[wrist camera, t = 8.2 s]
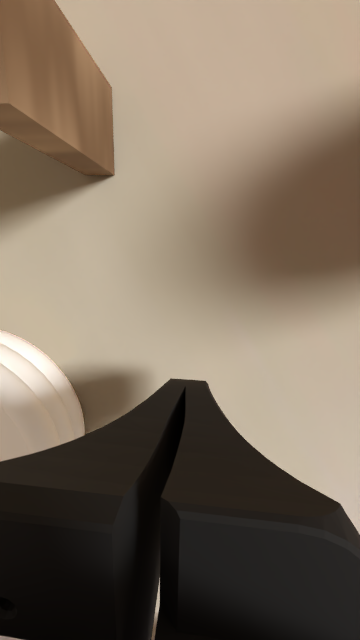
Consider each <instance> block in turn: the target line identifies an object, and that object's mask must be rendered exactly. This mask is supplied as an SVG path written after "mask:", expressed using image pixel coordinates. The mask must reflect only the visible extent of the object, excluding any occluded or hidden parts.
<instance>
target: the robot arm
mask: <svg viewBox="0 0 360 640" xmlns="http://www.w3.org/2000/svg"><path fill="white" fill-rule="evenodd" d="M159 578H160V607H159V614H158V620H157V627H156V634H155V640H360V535H359V533H358V531H357V530H356V528H355V527H354V525H353V523H352V522H351V520H350V519H349V517H348V516H347V514H346V513H345V511H344V509H343V508H342V506H341V504H340V503H338V502H336V501H334V500H333V499H331V498H329V497H327V496H325V495H324V494H322V493H320V492H318V491H316V490H315V489H313V488H311V487H309V486H307V485H306V484H304V483H302V482H300V481H299V480H297V479H296V478H294V477H293V476H291V475H290V474H288V473H287V472H285V471H284V470H282V469H281V468H279V467H278V466H276V465H275V464H274V463H272V462H271V461H270V460H268V459H267V458H266V457H264V456H263V455H262V454H261V453H260V452H258V451H257V450H256V449H255V448H254V447H252V446H251V445H250V444H249V443H248V442H247V441H246V440H245V439H244V438H243V437H242V436H241V435H240V434H239V433H238V432H237V430H236V429H235V428H234V427H233V426H232V424H231V423H230V422H229V420H228V419H227V418H226V416H225V415H224V414H223V412H222V411H221V409H220V407H219V406H218V404H217V403H216V401H215V399H214V397H213V395H212V393H211V391H210V389H209V386H208V384H207V382H206V381H198V380H184V379H170V380H169V381H168V382H166V383H165V384H164V385H163V386H162V387H161V388H160V389H158V390H157V391H156V392H155V393H154V394H153V395H151V396H150V397H149V398H148V399H146V400H145V401H144V402H142V403H141V404H140V405H138V406H137V407H135V408H134V409H133V410H131V411H130V412H128V413H127V414H125V415H124V416H122V417H120V418H119V419H117V420H115V421H113V422H111V423H110V424H108V425H106V426H104V427H102V428H100V429H97V430H95V431H93V432H91V433H88V434H86V435H84V436H82V437H79V438H77V439H75V440H72V441H69V442H66V443H64V444H61V445H58V446H55V447H52V448H49V449H46V450H43V451H39V452H36V453H32V454H29V455H25V456H21V457H17V458H13V459H9V460H5V461H1V462H0V640H151V637H152V629H153V622H154V614H155V607H156V600H157V592H158V585H159Z"/></svg>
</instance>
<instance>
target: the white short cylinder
mask: <svg viewBox="0 0 360 640" xmlns="http://www.w3.org/2000/svg"><path fill="white" fill-rule="evenodd" d="M84 434H85V427H84V417H83V413H82V408H81V405H80V402H79V400H78V397H77V395H76V393H75V391H74V389H73V387H72V385H71V383H70V382H69V380H68V379H67V377H66V376H65V374H64V373H63V372H62V371H61V369H60V368H59V367H58V366H57V365H56V364H55V362H53V361H52V360H51V359H50V358H49V357H48V356H47V355H46V354H45V353H44V352H42V351H41V350H40V349H38V348H37V347H36V346H34V345H33V344H31V343H30V342H28V341H26V340H24V339H23V338H21V337H18V336H16V335H14V334H12V333H9V332H6V331H3V330H0V462H1V461H5V460H9V459H13V458H17V457H21V456H25V455H29V454H32V453H36V452H39V451H43V450H46V449H49V448H52V447H55V446H58V445H61V444H64V443H66V442H69V441H72V440H75V439H77V438H79V437H82V436H84Z"/></svg>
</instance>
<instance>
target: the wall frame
mask: <svg viewBox="0 0 360 640" xmlns="http://www.w3.org/2000/svg"><path fill="white" fill-rule="evenodd" d="M0 130H1V131H3V132H5V133H7V134H9V135H10V136H12V137H14V138H16V139H18V140H20V141H22V142H24V143H26V144H28V145H29V146H31V147H33V148H35V149H37V150H39V151H41V152H43V153H45V154H46V155H48V156H50V157H52V158H54V159H56V160H58V161H60V162H62V163H64V164H65V165H67V166H69V167H71V168H73V169H75V170H77V171H79V172H81V173H83V174H84V175H114V145H113V115H112V87H111V86H110V84H109V83H108V81H107V80H106V78H105V77H104V75H103V74H102V72H101V71H100V69H99V67H98V66H97V64H96V63H95V61H94V60H93V58H92V57H91V55H90V54H89V52H88V51H87V49H86V48H85V46H84V45H83V43H82V42H81V40H80V39H79V37H78V35H77V34H76V32H75V31H74V29H73V28H72V26H71V25H70V23H69V22H68V20H67V19H66V17H65V16H64V14H63V13H62V11H61V10H60V8H59V7H58V5H57V4H56V2H55V0H0Z"/></svg>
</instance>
